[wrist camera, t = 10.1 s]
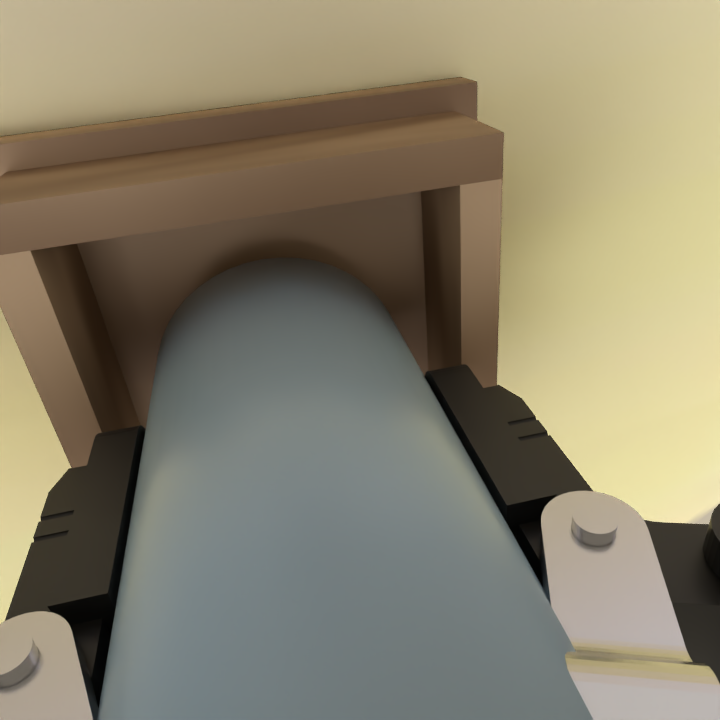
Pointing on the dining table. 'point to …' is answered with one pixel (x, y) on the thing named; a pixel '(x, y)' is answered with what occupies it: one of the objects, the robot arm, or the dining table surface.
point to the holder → (244, 231)
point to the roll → (317, 528)
